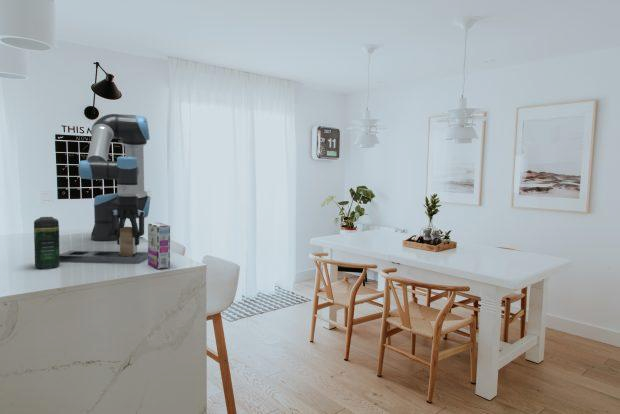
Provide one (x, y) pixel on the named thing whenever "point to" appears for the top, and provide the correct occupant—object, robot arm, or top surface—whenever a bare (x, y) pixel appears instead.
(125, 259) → the grey metal hole board
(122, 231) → the walnut peg
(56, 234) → the coffee jar
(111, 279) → the top surface
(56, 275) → the top surface
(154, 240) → the candy bar box
